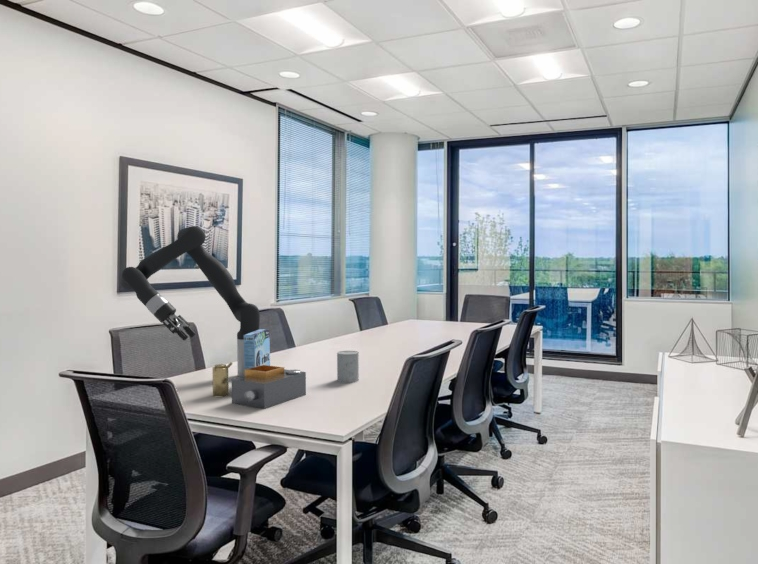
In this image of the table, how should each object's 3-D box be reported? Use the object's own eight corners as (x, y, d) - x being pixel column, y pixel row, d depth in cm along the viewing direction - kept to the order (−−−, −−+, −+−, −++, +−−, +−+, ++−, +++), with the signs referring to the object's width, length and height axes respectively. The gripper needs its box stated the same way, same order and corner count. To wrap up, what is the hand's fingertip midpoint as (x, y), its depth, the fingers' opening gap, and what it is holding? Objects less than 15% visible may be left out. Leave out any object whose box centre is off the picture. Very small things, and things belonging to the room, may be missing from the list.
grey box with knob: (274, 389, 230) (274, 361, 230) (305, 394, 222) (305, 365, 222) (225, 404, 207) (225, 373, 207) (258, 410, 199) (258, 378, 199)
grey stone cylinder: (362, 379, 251) (362, 351, 250) (352, 383, 242) (352, 355, 241) (343, 377, 255) (343, 350, 254) (333, 381, 246) (333, 353, 245)
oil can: (210, 396, 219) (210, 363, 219) (215, 393, 225) (215, 361, 225) (230, 396, 219) (230, 363, 219) (234, 393, 225) (234, 360, 225)
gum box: (255, 391, 228) (254, 335, 227) (243, 391, 228) (242, 335, 227) (271, 381, 247) (270, 329, 246) (259, 380, 248) (259, 328, 247)
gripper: (160, 302, 214) (190, 333, 214) (174, 300, 228) (202, 328, 228) (146, 316, 214) (176, 346, 214) (161, 313, 228) (189, 341, 229)
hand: (190, 337), depth 221 cm, fingers open, 8 cm apart
